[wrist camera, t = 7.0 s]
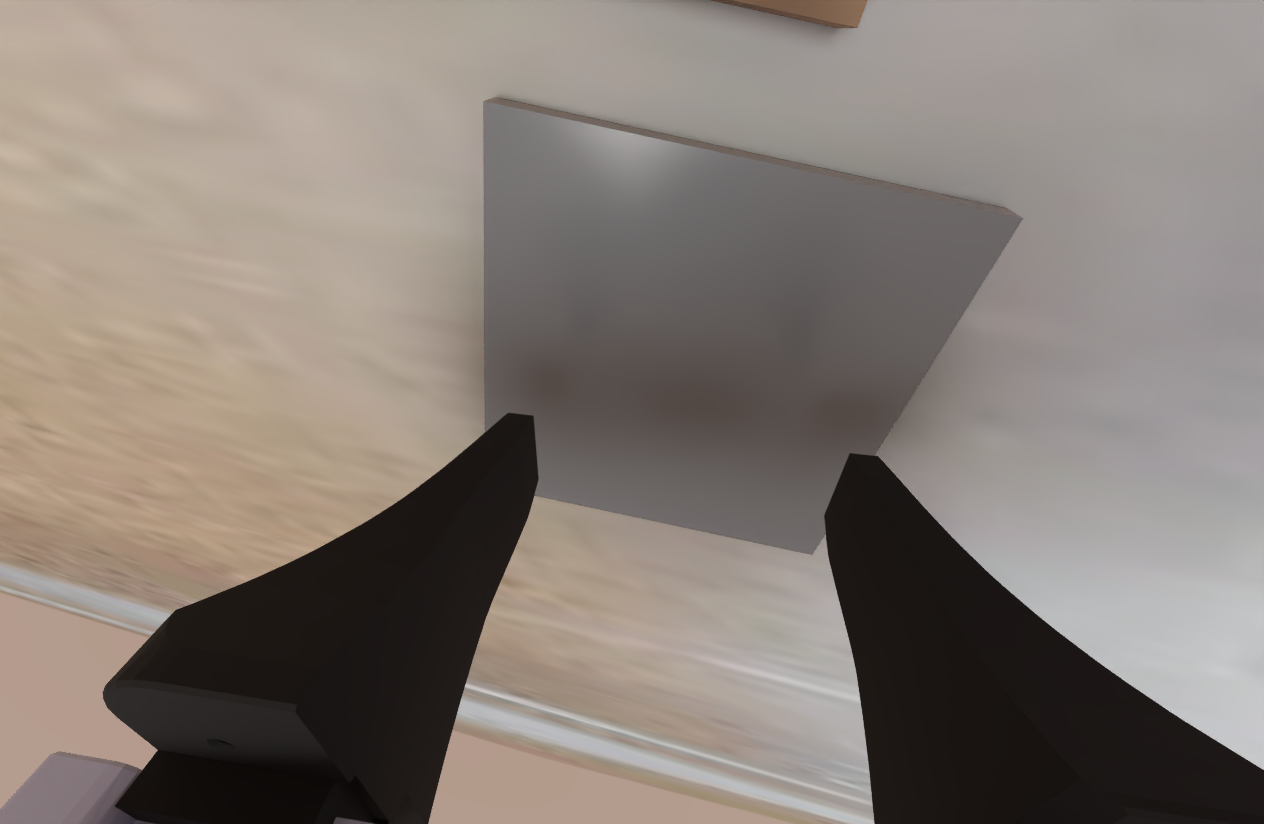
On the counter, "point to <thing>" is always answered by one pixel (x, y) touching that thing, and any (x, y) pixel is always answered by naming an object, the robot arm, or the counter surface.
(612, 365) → the slate coaster
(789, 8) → the pocket frame
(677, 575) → the counter surface
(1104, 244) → the counter surface
